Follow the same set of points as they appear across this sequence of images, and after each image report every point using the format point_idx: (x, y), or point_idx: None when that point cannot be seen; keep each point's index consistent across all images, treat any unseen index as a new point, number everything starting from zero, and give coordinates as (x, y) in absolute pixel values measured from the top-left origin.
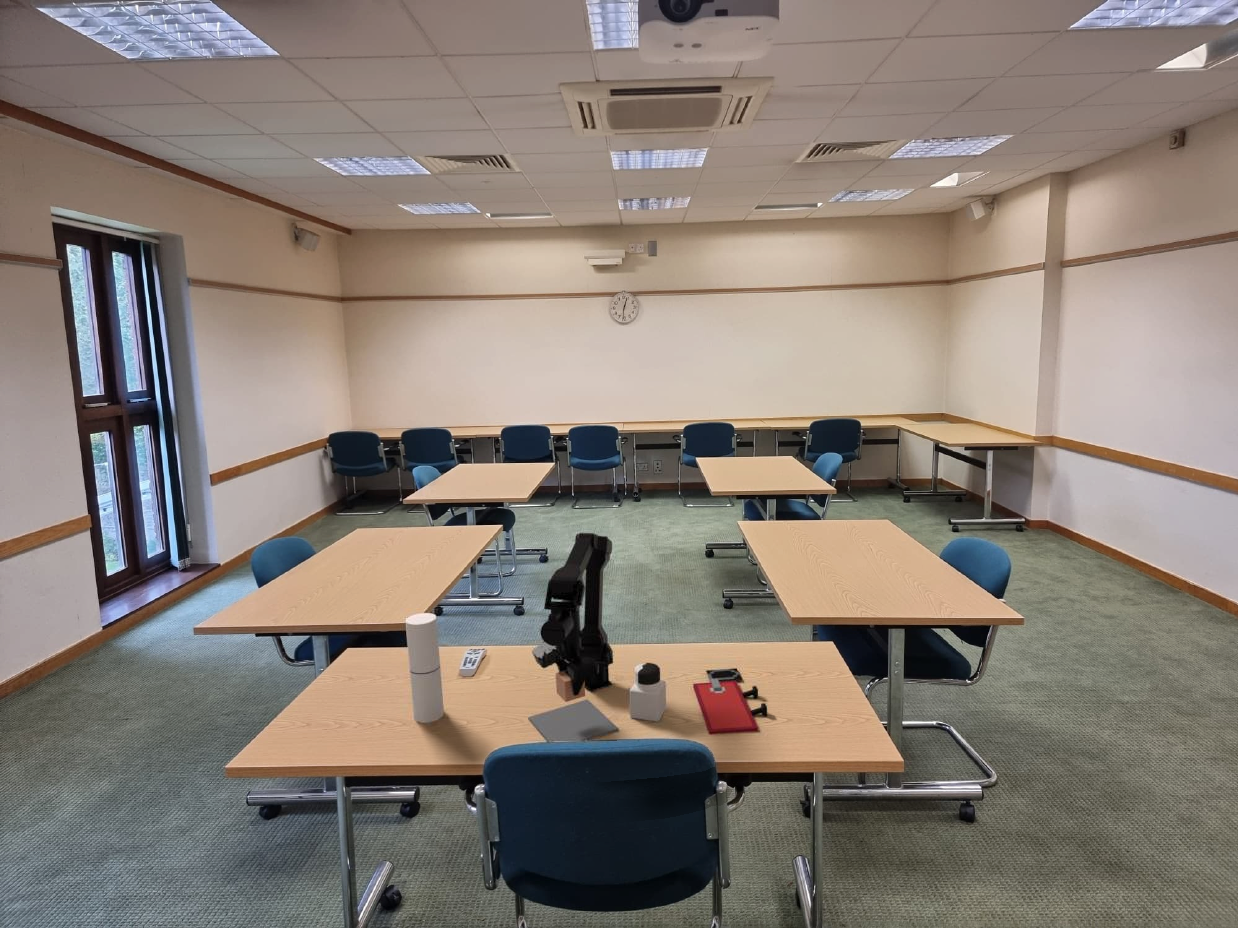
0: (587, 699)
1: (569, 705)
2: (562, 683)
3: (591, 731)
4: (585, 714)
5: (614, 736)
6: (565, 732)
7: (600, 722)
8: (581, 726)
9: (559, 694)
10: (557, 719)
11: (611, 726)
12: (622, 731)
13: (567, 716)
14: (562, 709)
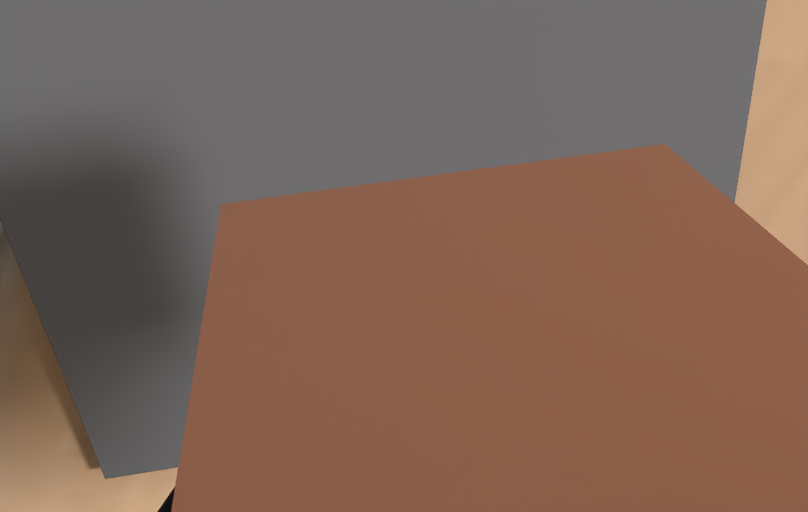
0: None
1: None
2: (385, 444)
3: (128, 268)
4: None
5: (13, 414)
6: (211, 4)
7: None
8: None
9: (534, 172)
10: (537, 9)
11: (160, 438)
12: (80, 482)
13: (534, 134)
14: (695, 128)
